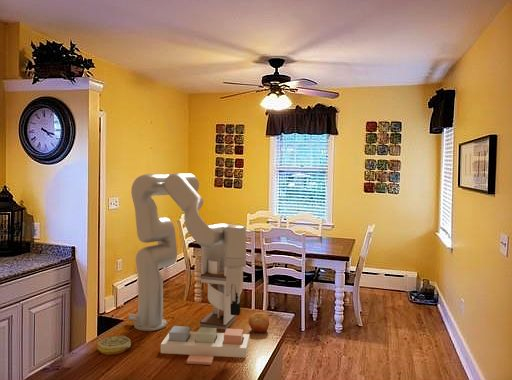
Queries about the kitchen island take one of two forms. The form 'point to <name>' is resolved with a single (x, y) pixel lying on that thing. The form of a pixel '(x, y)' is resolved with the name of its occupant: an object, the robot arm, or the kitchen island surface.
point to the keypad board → (206, 347)
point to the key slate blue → (179, 333)
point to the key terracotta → (233, 336)
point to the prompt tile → (200, 359)
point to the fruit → (259, 322)
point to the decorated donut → (114, 345)
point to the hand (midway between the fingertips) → (235, 314)
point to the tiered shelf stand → (216, 288)
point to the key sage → (206, 335)
